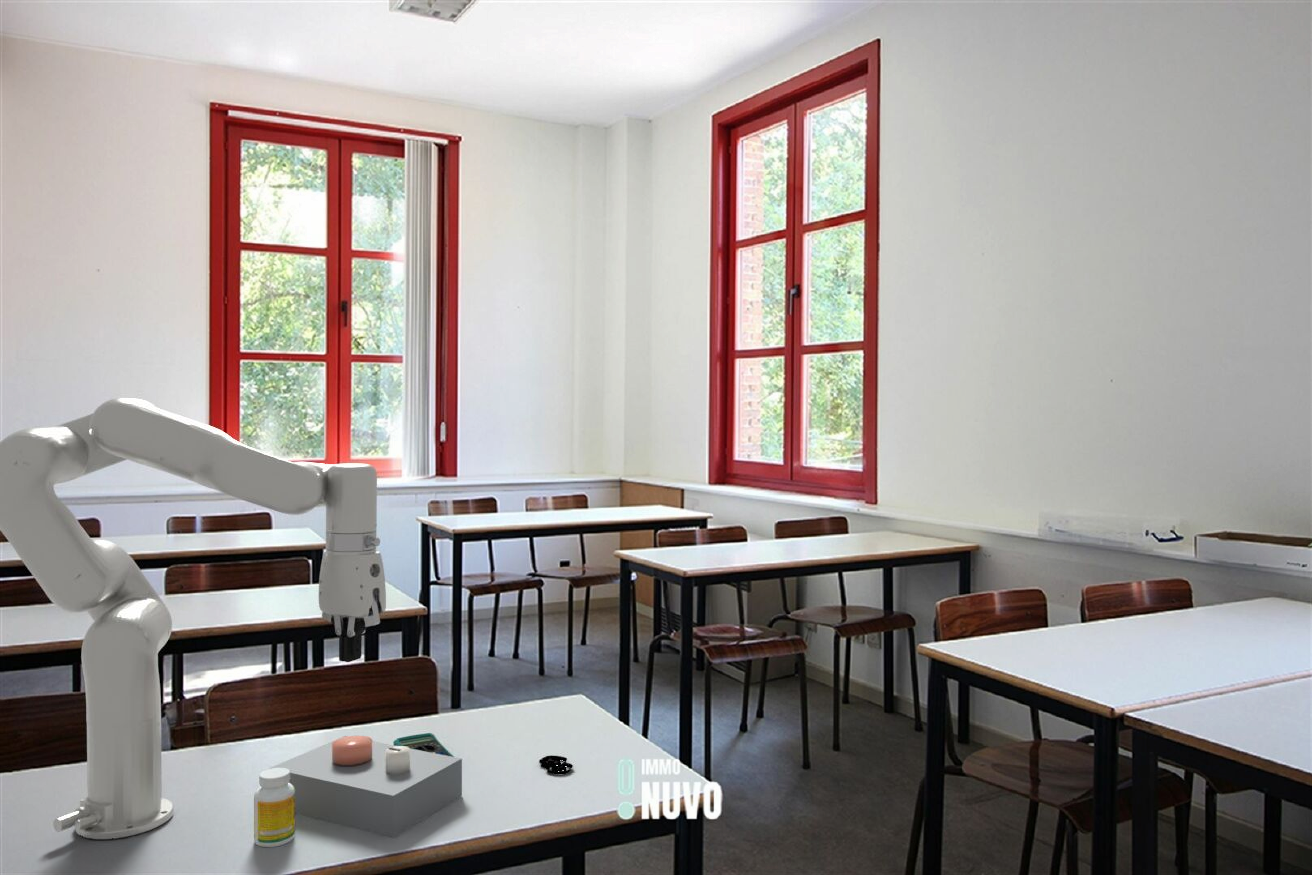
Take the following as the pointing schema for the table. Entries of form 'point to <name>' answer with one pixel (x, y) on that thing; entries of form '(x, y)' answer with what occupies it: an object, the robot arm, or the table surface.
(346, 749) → the button
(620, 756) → the table surface
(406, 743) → the digital multimeter
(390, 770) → the knob
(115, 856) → the table surface
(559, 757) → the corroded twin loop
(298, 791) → the box
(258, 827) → the supplement bottle
